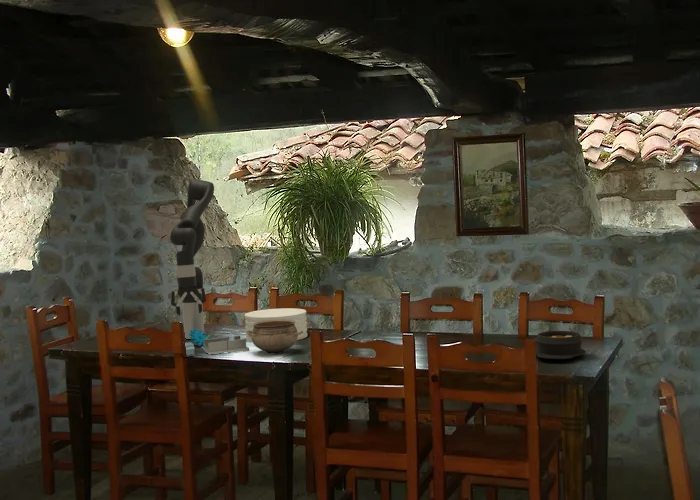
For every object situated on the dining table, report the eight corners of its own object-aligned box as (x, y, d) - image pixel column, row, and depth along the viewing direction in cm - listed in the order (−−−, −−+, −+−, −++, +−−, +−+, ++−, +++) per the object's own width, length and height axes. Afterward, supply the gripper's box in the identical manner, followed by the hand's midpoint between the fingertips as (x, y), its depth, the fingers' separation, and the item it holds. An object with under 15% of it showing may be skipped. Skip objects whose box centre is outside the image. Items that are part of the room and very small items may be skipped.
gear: (196, 345, 332) (186, 327, 336) (189, 354, 334) (180, 336, 339) (216, 344, 340) (206, 327, 345) (209, 353, 342) (200, 336, 347)
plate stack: (269, 345, 333) (268, 319, 332) (234, 339, 354) (232, 314, 353) (319, 335, 351) (318, 310, 350) (283, 330, 372) (282, 306, 371)
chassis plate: (201, 349, 330) (200, 338, 330) (240, 345, 336) (239, 334, 336) (208, 355, 315) (208, 344, 315) (249, 350, 321) (248, 339, 321)
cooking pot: (312, 348, 320) (311, 319, 319) (294, 357, 302) (293, 326, 301) (258, 347, 328) (256, 319, 327) (237, 356, 310) (235, 326, 309)
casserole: (580, 365, 264) (579, 341, 264) (526, 362, 273) (525, 339, 272) (591, 351, 287) (590, 328, 286) (540, 349, 295) (539, 327, 295)
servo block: (180, 353, 322) (180, 342, 322) (190, 352, 324) (189, 341, 323) (185, 358, 312) (184, 346, 312) (195, 357, 313) (194, 345, 313)
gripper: (201, 273, 328) (204, 311, 329) (167, 276, 323) (170, 315, 324) (205, 274, 321) (208, 313, 322) (170, 277, 316) (173, 317, 317)
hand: (189, 314), depth 323 cm, fingers open, 8 cm apart
